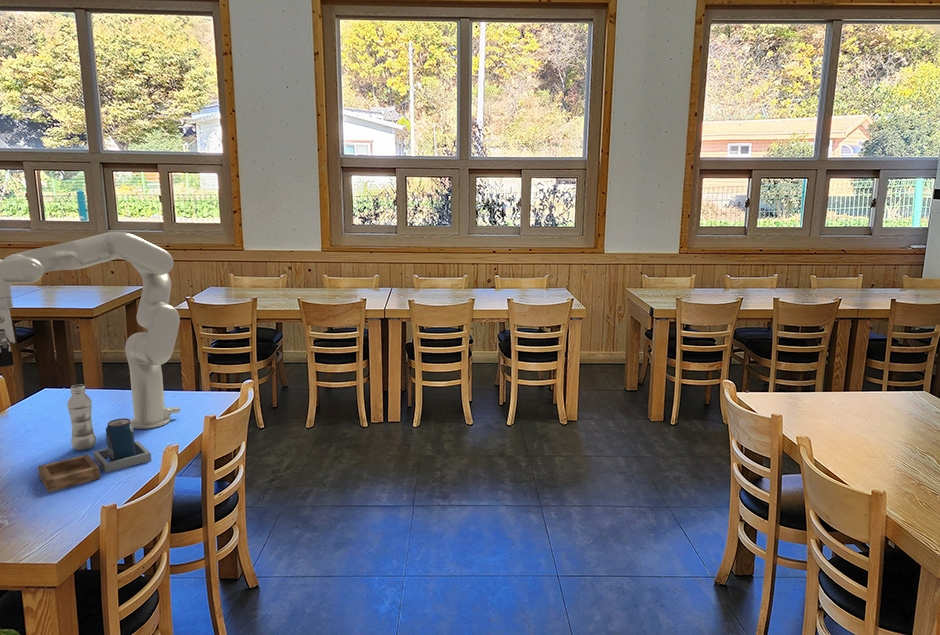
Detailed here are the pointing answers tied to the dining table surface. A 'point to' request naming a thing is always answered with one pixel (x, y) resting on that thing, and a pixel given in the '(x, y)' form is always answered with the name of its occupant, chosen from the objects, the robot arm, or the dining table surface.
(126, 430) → the soda can
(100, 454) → the grey square frame
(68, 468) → the walnut holder
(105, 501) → the dining table surface
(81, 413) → the pale grey bottle
